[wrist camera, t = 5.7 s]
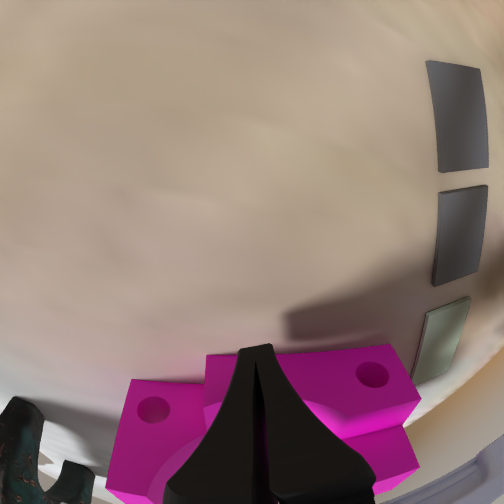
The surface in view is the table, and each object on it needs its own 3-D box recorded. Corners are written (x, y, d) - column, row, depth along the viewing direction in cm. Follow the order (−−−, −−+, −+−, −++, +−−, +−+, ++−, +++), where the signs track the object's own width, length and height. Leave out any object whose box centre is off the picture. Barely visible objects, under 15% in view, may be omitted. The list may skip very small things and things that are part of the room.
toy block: (389, 341, 15) (444, 444, 8) (359, 403, 18) (390, 490, 11) (121, 347, 14) (82, 469, 7) (145, 410, 17) (129, 506, 10)
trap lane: (475, 69, 8) (504, 68, 6) (420, 423, 21) (427, 438, 19) (22, 153, 9) (-7, 162, 7) (211, 472, 22) (211, 489, 20)
